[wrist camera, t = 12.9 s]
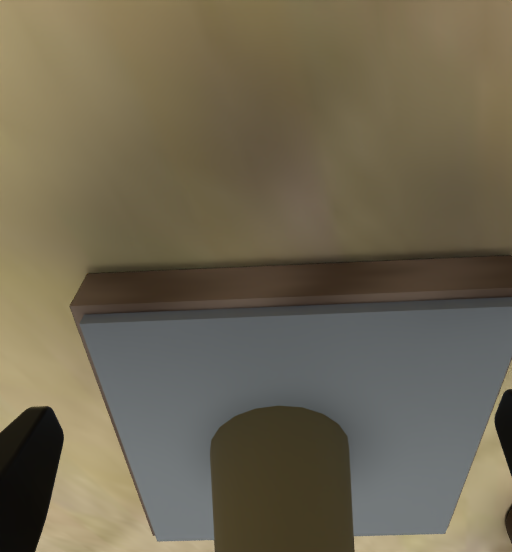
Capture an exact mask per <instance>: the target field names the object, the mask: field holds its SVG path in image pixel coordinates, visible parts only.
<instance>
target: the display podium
mask: <svg viewBox="0 0 512 552" xmlns="http://www.w3.org/2000/svg"><path fill="white" fill-rule="evenodd" d="M70 309H71V312H72V315H73V317H74V320H75V323H76V326H77V328H78V331H79V334H80V337H81V339H82V342H83V345H84V348H85V350H86V353H87V356H88V359H89V361H90V364H91V367H92V369H93V372H94V375H95V378H96V380H97V383H98V386H99V389H100V391H101V394H102V397H103V400H104V402H105V405H106V408H107V411H108V413H109V416H110V419H111V422H112V424H113V427H114V430H115V433H116V435H117V438H118V441H119V444H120V446H121V449H122V452H123V455H124V457H125V460H126V463H127V465H128V468H129V471H130V474H131V476H132V479H133V482H134V485H135V487H136V490H137V493H138V496H139V498H140V501H141V504H142V507H143V509H144V512H145V515H146V518H147V520H148V523H149V526H150V529H151V531H152V534H153V536H156V539H157V541H191V540H214V525H213V505H212V485H211V466H210V447H211V440H212V438H213V437H214V435H215V433H216V432H217V430H218V429H219V427H221V426H222V425H223V424H225V423H226V422H227V421H229V420H230V419H232V418H233V417H234V416H237V415H239V414H242V413H245V412H247V411H250V410H253V409H256V408H264V407H271V406H291V407H303V408H306V409H309V410H312V411H316V412H319V413H322V414H324V415H326V416H327V417H329V418H330V419H332V420H333V421H335V422H336V423H338V424H339V425H340V427H341V428H342V429H343V431H344V432H345V434H346V435H347V436H348V443H349V453H350V473H351V493H352V512H353V532H354V536H378V535H416V534H445V533H446V530H447V528H448V526H449V523H450V521H451V518H452V515H453V513H454V510H455V508H456V505H457V502H458V500H459V497H460V494H461V492H462V489H463V486H464V484H465V481H466V478H467V476H468V473H469V471H470V468H471V465H472V463H473V460H474V457H475V455H476V452H477V449H478V447H479V444H480V441H481V439H482V436H483V434H484V431H485V428H486V426H487V423H488V420H489V418H490V415H491V412H492V410H493V407H494V404H495V402H496V399H497V397H498V394H499V391H500V389H501V386H502V383H503V381H504V378H505V375H506V373H507V370H508V367H509V365H510V362H511V360H512V256H511V255H507V256H484V257H461V258H439V259H416V260H393V261H370V262H347V263H324V264H301V265H278V266H255V267H232V268H209V269H186V270H163V271H140V272H117V273H94V274H87V275H86V277H85V279H84V281H83V283H82V284H81V286H80V288H79V290H78V292H77V293H76V295H75V297H74V299H73V301H72V302H71V304H70Z"/></svg>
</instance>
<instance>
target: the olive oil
mask: <svg viewBox="0 0 512 552" xmlns="http://www.w3.org/2000/svg"><path fill="white" fill-rule="evenodd" d="M506 529H507V533H508V535H509V538H510V540H511V543H512V509H511V510H510V512H509V514H508V516H507V519H506Z"/></svg>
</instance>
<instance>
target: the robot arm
mask: <svg viewBox="0 0 512 552" xmlns="http://www.w3.org/2000/svg"><path fill="white" fill-rule="evenodd" d="M495 427H496V431H497V434H498V437H499V440H500V443H501V446H502V449H503V452H504V455H505V458H506V461H507V464H508V467H509V470H510V473H511V476H512V389H509V390H506V391H505V392H504V394H503V396H502V399H501V401H500V404H499V407H498V409H497V412H496V414H495ZM63 441H64V435H63V430H62V428H61V426H60V424H59V422H58V420H57V417H56V415H55V413H54V411H53V409H52V408H50V407H48V406H41V407H30V408H28V409H26V410H25V411H24V412H23V413H22V414H20V415H19V416H18V417H17V418H16V419H15V420H14V421H13V422H12V423H10V424H9V425H8V426H7V427H6V428H5V429H4V430H3V431H2V432H0V552H35V551H36V548H37V545H38V542H39V539H40V536H41V533H42V530H43V526H44V523H45V520H46V516H47V512H48V508H49V504H50V500H51V495H52V491H53V486H54V482H55V478H56V473H57V469H58V464H59V460H60V455H61V451H62V446H63Z"/></svg>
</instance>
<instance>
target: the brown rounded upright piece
mask: <svg viewBox="0 0 512 552" xmlns="http://www.w3.org/2000/svg"><path fill="white" fill-rule="evenodd" d="M210 466H211V485H212V505H213V525H214V545H215V552H354V532H353V512H352V493H351V473H350V453H349V443H348V436H347V435H346V434H345V432H344V431H343V429H342V428H341V427H340V425H339V424H338V423H336V422H335V421H333V420H332V419H330V418H329V417H327V416H326V415H324V414H322V413H319V412H316V411H312V410H309V409H306V408H303V407H291V406H271V407H264V408H256V409H253V410H250V411H247V412H245V413H242V414H239V415H237V416H234V417H233V418H232V419H230V420H229V421H227V422H226V423H225V424H223V425H222V426H221V427H219V429H218V430H217V432H216V433H215V435H214V437H213V438H212V440H211V447H210Z"/></svg>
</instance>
